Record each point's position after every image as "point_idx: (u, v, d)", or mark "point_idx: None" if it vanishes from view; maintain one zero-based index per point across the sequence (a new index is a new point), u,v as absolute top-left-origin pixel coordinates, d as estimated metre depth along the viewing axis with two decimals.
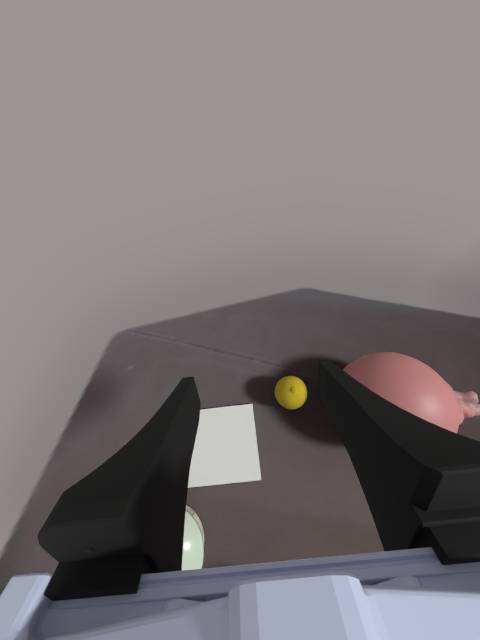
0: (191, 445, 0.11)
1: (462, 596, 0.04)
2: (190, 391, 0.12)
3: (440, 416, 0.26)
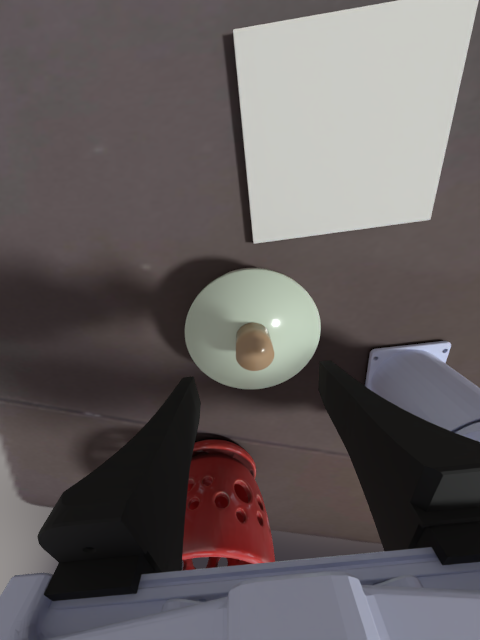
0: (191, 445, 0.11)
1: (462, 596, 0.04)
2: (190, 391, 0.12)
3: None
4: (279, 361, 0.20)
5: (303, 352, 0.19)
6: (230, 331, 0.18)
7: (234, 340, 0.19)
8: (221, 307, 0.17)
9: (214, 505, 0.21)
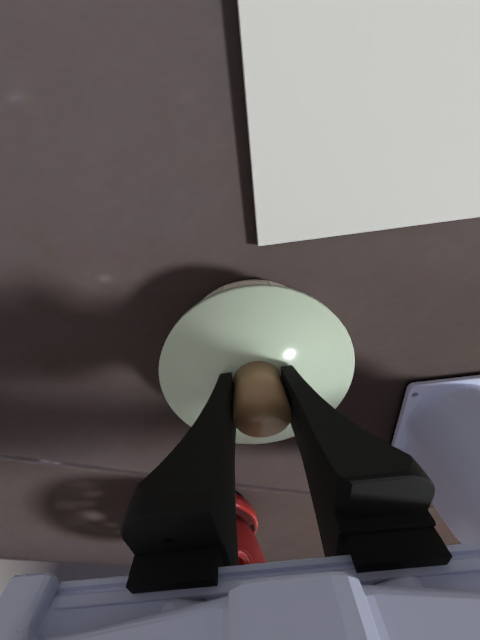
0: (234, 440, 0.11)
1: (462, 596, 0.04)
2: (231, 386, 0.11)
3: None
4: None
5: (327, 398, 0.14)
6: None
7: None
8: (211, 341, 0.12)
9: None
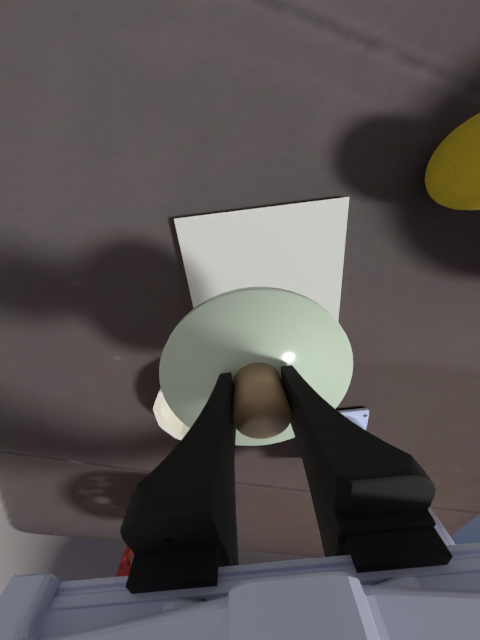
0: (234, 440, 0.11)
1: (462, 596, 0.04)
2: (231, 386, 0.11)
3: None
4: None
5: None
6: None
7: None
8: (213, 340, 0.12)
9: None
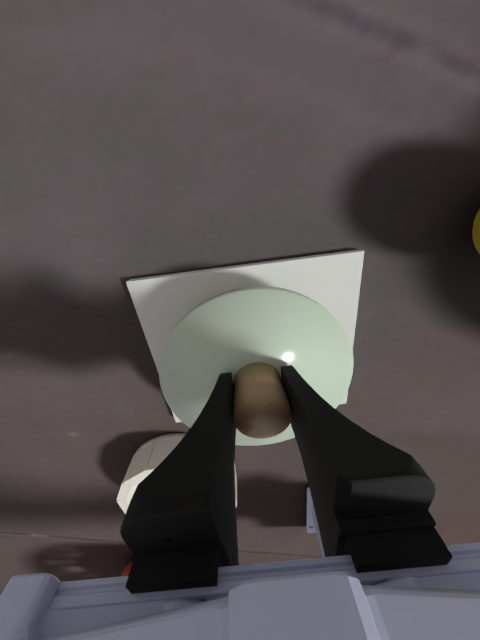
0: (233, 440, 0.11)
1: (462, 596, 0.04)
2: (231, 386, 0.11)
3: None
4: None
5: None
6: None
7: None
8: (214, 340, 0.12)
9: None
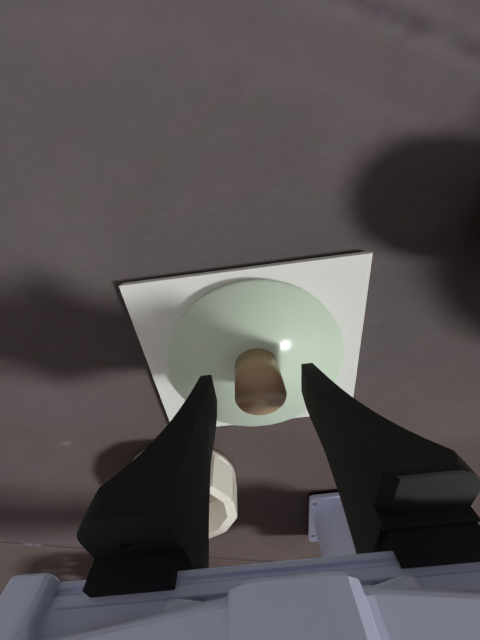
0: (211, 443, 0.11)
1: (462, 596, 0.04)
2: (209, 389, 0.11)
3: None
4: (287, 395, 0.16)
5: None
6: (228, 358, 0.14)
7: (232, 369, 0.14)
8: (217, 327, 0.13)
9: None
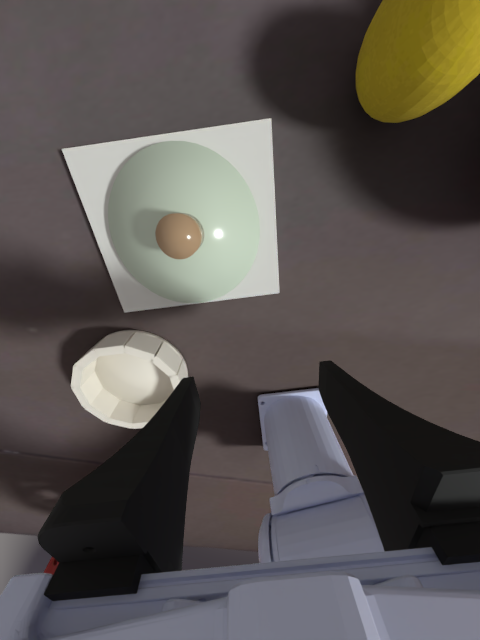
0: (191, 445, 0.11)
1: (462, 596, 0.04)
2: (190, 391, 0.12)
3: None
4: (216, 269, 0.18)
5: (242, 259, 0.18)
6: None
7: None
8: (148, 188, 0.15)
9: None
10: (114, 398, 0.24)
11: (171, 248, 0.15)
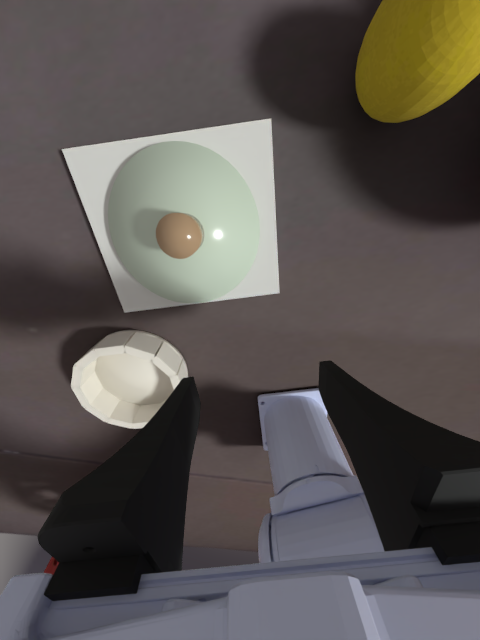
0: (191, 445, 0.11)
1: (462, 596, 0.04)
2: (190, 391, 0.12)
3: None
4: (215, 269, 0.18)
5: (241, 260, 0.18)
6: None
7: None
8: (149, 188, 0.15)
9: None
10: (114, 398, 0.24)
11: (171, 247, 0.15)
